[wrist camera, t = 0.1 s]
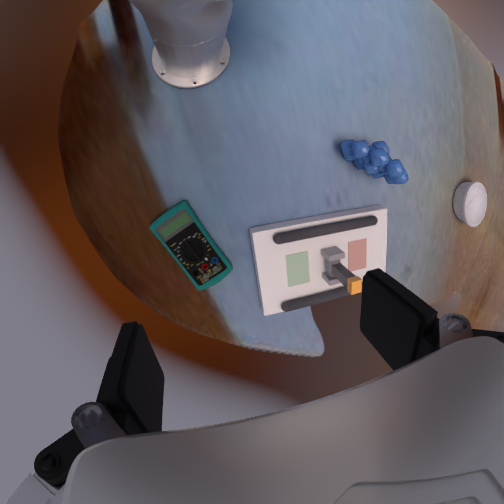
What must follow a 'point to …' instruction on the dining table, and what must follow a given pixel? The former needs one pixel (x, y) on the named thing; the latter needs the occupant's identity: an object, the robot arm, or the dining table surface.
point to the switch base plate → (314, 256)
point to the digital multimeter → (191, 246)
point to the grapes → (375, 160)
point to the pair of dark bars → (316, 232)
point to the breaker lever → (344, 276)
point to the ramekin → (470, 203)
